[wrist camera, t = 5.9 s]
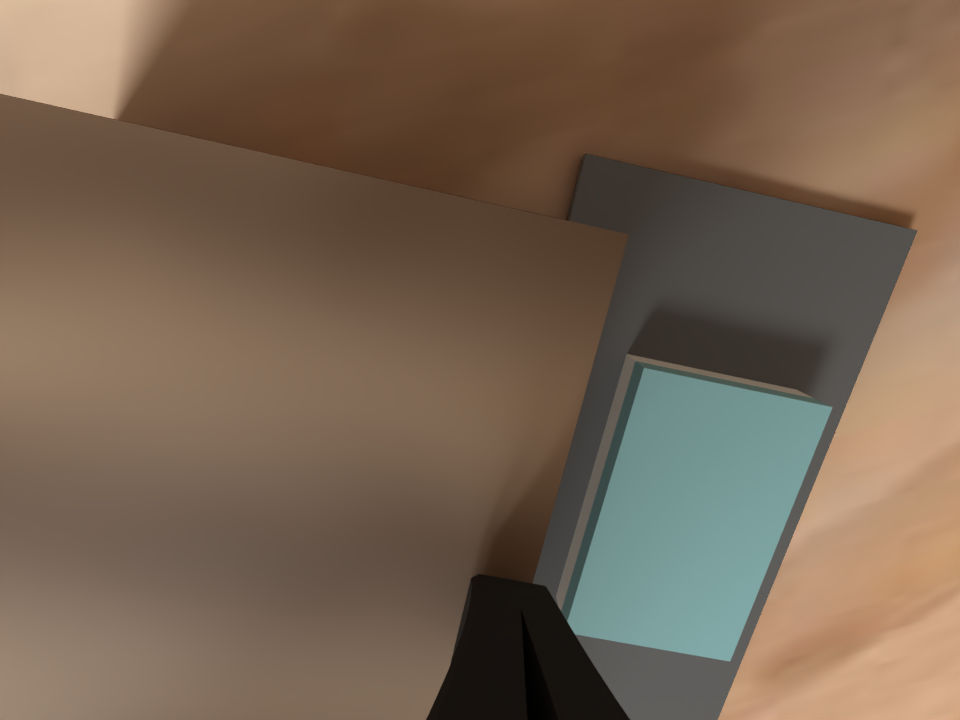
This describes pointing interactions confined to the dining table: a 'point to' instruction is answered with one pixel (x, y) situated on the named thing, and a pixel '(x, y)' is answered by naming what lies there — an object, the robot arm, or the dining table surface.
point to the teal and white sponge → (686, 506)
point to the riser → (266, 422)
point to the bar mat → (717, 355)
